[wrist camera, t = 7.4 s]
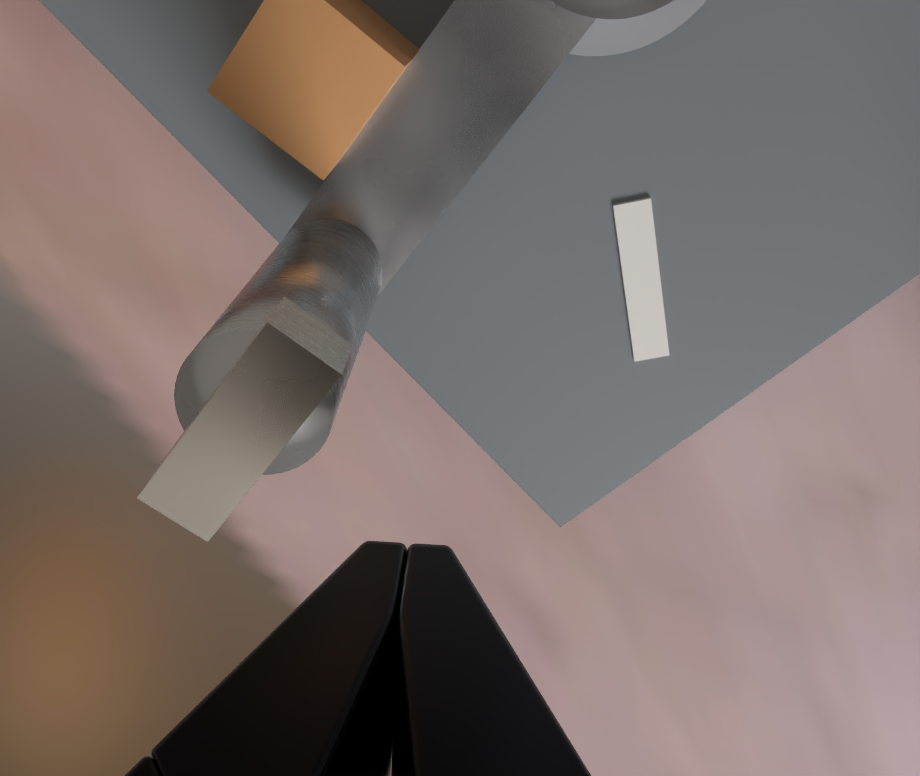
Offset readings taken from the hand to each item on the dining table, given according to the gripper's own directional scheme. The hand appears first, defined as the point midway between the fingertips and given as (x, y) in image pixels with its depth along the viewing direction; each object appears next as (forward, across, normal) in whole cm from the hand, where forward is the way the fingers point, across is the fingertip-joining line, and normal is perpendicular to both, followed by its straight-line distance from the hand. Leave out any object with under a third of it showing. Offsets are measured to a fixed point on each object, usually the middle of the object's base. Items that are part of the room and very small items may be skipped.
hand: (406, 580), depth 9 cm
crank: (+8, 0, -4) cm, 9 cm away
